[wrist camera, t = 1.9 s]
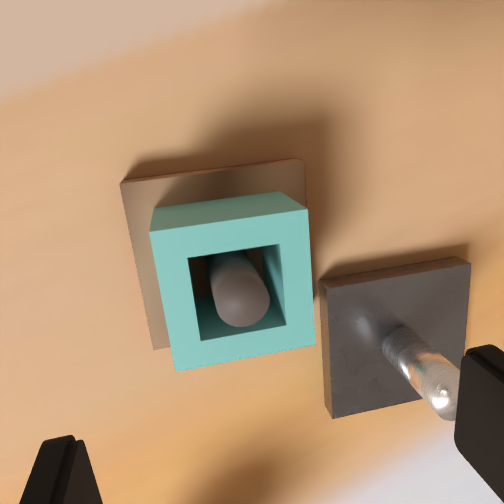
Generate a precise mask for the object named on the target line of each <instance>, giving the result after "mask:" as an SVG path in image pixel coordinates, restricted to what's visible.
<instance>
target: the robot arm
mask: <svg viewBox="0 0 504 504" xmlns="http://www.w3.org/2000/svg"><path fill="white" fill-rule="evenodd" d="M454 440H455V444H456V447H457V448H458V450H459V452H460V453H461V454H462V455H463V457H464V458H465V459H466V460H467V461H468V462H469V463H470V465H471V466H472V467H473V468H474V469H475V470H476V471H477V473H478V474H479V475H480V476H481V477H482V478H483V480H484V481H485V482H486V483H487V484H488V485H489V486H490V488H491V489H492V490H493V491H494V492H495V493H496V494H497V496H498V497H499V498H500V499H501V500H502V501H503V503H504V352H503V351H502V350H500V349H499V348H497V347H496V346H494V345H490V344H488V345H484V346H479V347H474V348H470V349H468V350H467V351H466V354H465V356H463V357H462V359H461V367H460V378H459V389H458V399H457V410H456V421H455V432H454ZM19 504H103V503H102V499H101V496H100V493H99V489H98V486H97V483H96V480H95V476H94V473H93V470H92V466H91V463H90V460H89V457H88V453H87V450H86V447H85V444H84V441H83V440H77V441H76V440H75V438H74V436H73V435H68V436H63V437H58V438H54V439H49V440H45V441H44V442H43V443H42V445H41V447H40V449H39V452H38V455H37V457H36V460H35V463H34V465H33V468H32V471H31V473H30V476H29V479H28V482H27V484H26V487H25V490H24V492H23V495H22V498H21V500H20V503H19Z"/></svg>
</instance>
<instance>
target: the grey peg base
mask: <svg viewBox="0 0 504 504" xmlns="http://www.w3.org/2000/svg"><path fill="white" fill-rule="evenodd" d="M470 274H471V263H468V262H466V261H464V260H462V259H460V258H458V257H452V258H446V259H440V260H434V261H429V262H423V263H417V264H411V265H405V266H399V267H393V268H388V269H382V270H376V271H370V272H364V273H358V274H352V275H347V276H341V277H335V278H329V279H323V280H319V297H320V317H321V337H322V357H323V376H324V396H325V406H326V408H327V410H328V412H329V413H330V415H331V417H332V419H335V418H339V417H344V416H348V415H353V414H357V413H361V412H366V411H370V410H375V409H379V408H384V407H388V406H393V405H397V404H402V403H406V402H411V401H415V400H420V399H424V400H425V401H426V402H427V403H428V404H429V405H430V406H431V407H432V409H433V410H434V411H435V412H436V413H437V414H438V415H439V416H440V417H441V418H442V419H444V420H448V421H454V420H456V410H457V399H458V389H459V378H460V367H461V359H462V357H463V356H464V349H465V336H466V324H467V311H468V299H469V287H470Z"/></svg>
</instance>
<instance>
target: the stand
mask: <svg viewBox="0 0 504 504" xmlns="http://www.w3.org/2000/svg"><path fill="white" fill-rule="evenodd" d="M120 189H121V194H122V199H123V204H124V209H125V214H126V219H127V223H128V228H129V233H130V238H131V243H132V248H133V253H134V257H135V262H136V267H137V272H138V277H139V282H140V287H141V291H142V296H143V301H144V306H145V311H146V316H147V321H148V325H149V330H150V335H151V340H152V345H153V350H157V349H162V348H167V347H171V346H170V340H169V335H168V330H167V325H166V319H165V314H164V309H163V303H162V298H161V293H160V288H159V282H158V277H157V272H156V266H155V261H154V256H153V251H152V245H151V240H150V235H149V229H150V224H151V219H152V214H153V209H154V208H159V207H166V206H173V205H181V204H188V203H196V202H203V201H210V200H218V199H225V198H232V197H240V196H247V195H255V194H262V193H269V192H277V191H281V192H282V193H284V194H285V195H287V196H288V197H290V198H291V199H293V200H295V201H296V202H298V203H299V204H301V205H302V206H304V207H305V208H307V205H306V188H305V170H304V161H303V160H300V159H288V160H280V161H272V162H264V163H256V164H247V165H239V166H231V167H223V168H215V169H207V170H199V171H191V172H183V173H175V174H167V175H159V176H151V177H143V178H135V179H127V180H122V181H121V183H120ZM189 265H190V271H191V277H192V283H193V290H194V296H195V298H198V297H204V296H210V295H213V297H214V301H215V305H216V309H217V312H218V315H219V316H220V318H221V319H222V320H223V321H224V322H226V323H227V324H229V325H232V326H235V327H246V326H250V325H253V324H255V323H256V322H258V321H259V320H260V319H261V318H262V317H263V316H264V315H265V314H266V312H267V310H268V307H269V303H270V297H269V293H268V290H267V288H266V287H265V285H264V275H263V265H262V255H261V247H254V248H248V249H241V250H235V251H228V252H222V253H216V254H209V255H203V256H196V257H190V258H189Z"/></svg>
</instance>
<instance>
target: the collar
mask: <svg viewBox="0 0 504 504" xmlns="http://www.w3.org/2000/svg"><path fill="white" fill-rule="evenodd" d="M149 235H150V240H151V245H152V251H153V256H154V261H155V266H156V272H157V277H158V282H159V288H160V293H161V298H162V303H163V309H164V314H165V319H166V325H167V330H168V335H169V340H170V346H171V351H172V356H173V361H174V367H175V372H179V371H184V370H190V369H195V368H200V367H205V366H210V365H215V364H220V363H225V362H231V361H236V360H241V359H246V358H251V357H256V356H261V355H267V354H272V353H277V352H282V351H287V350H292V349H297V348H302V347H308V346H313V345H315V327H314V309H313V292H312V274H311V256H310V238H309V221H308V209H307V208H305V207H304V206H302V205H301V204H299V203H298V202H296V201H295V200H293V199H291V198H290V197H288V196H287V195H285V194H284V193H282V192H281V191H277V192H269V193H262V194H255V195H247V196H240V197H232V198H225V199H218V200H210V201H203V202H196V203H188V204H181V205H173V206H166V207H159V208H154V209H153V214H152V219H151V224H150V229H149ZM254 247H261V255H262V265H263V275H264V285H265V287H266V288H267V290H268V293H269V297H270V303H269V307H268V310H267V312H266V314H265V315H264V316H263V317H262V318H261V319H260V320H259V321H258V322H256V323H255V324H253V325H250V326H246V327H235V326H232V325H229V324H227V323H226V322H224V321H223V320H222V319H221V318H220V316H219V315H218V312H217V309H216V305H215V301H214V297H213V295H210V296H204V297H198V298H195V296H194V290H193V283H192V277H191V271H190V265H189V258H190V257H196V256H203V255H209V254H216V253H222V252H228V251H235V250H241V249H248V248H254Z"/></svg>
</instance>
